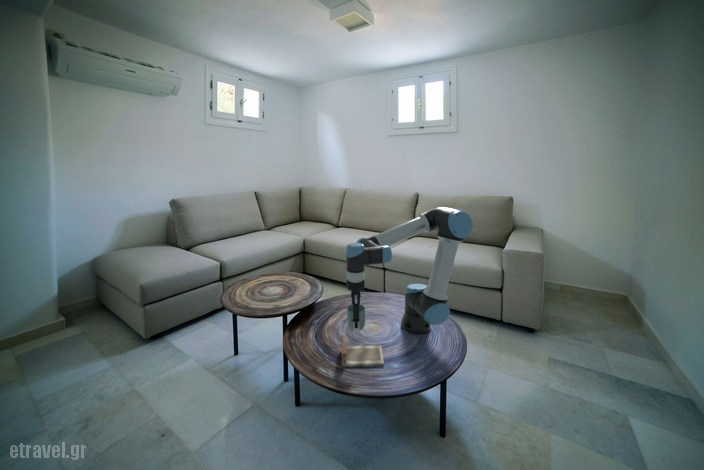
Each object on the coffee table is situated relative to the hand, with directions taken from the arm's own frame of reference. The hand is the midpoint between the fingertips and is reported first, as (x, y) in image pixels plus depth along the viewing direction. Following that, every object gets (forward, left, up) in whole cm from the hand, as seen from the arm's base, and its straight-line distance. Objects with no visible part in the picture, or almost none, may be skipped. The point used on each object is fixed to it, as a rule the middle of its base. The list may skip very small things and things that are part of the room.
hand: (356, 328), depth 132 cm
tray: (-3, 0, -14) cm, 14 cm away
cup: (0, 0, 0) cm, 0 cm away
